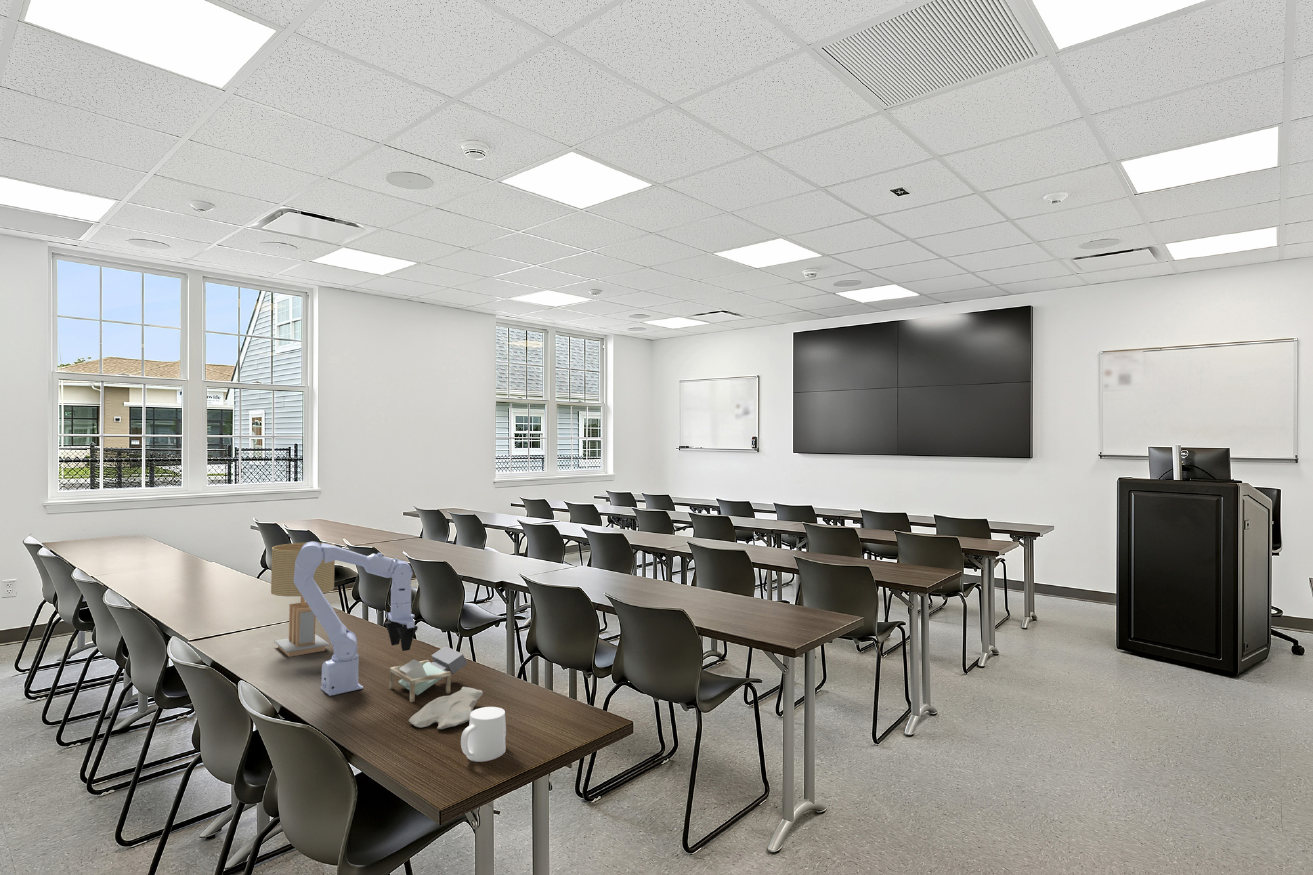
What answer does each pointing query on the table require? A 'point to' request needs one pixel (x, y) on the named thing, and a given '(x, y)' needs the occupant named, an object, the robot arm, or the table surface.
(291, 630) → the desk lamp
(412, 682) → the trapdoor frame
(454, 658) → the trapdoor
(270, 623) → the table surface
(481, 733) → the mug
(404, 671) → the white cube
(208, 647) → the table surface
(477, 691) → the rock
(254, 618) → the table surface
